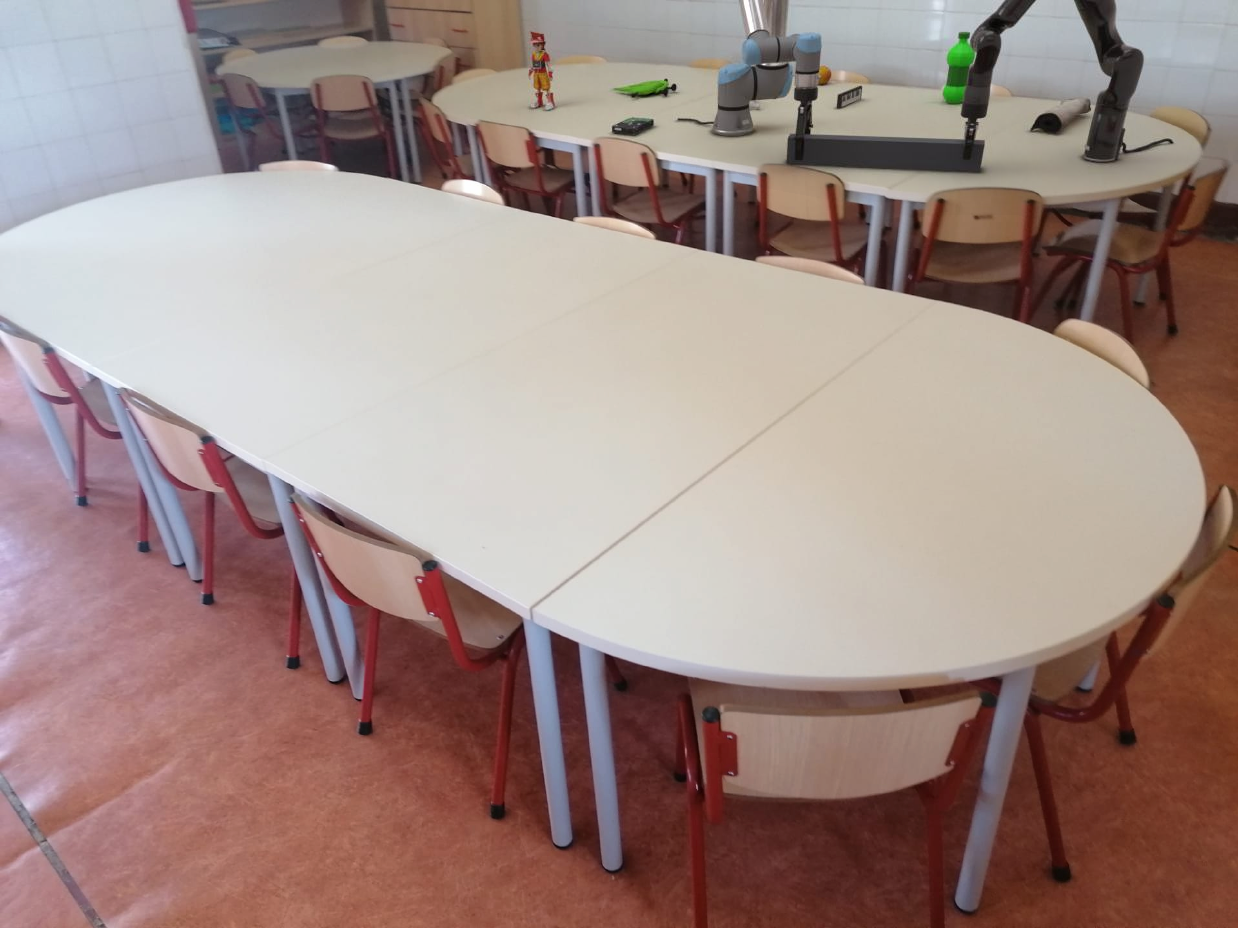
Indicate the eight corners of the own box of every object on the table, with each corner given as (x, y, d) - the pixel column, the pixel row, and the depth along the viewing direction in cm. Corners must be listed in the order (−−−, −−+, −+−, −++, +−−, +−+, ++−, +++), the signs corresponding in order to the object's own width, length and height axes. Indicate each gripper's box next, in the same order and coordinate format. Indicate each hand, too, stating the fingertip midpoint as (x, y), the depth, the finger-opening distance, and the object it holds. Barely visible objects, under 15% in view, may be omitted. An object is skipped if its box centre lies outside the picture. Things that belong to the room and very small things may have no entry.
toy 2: (686, 85, 398) (631, 84, 414) (685, 72, 395) (629, 72, 411) (651, 104, 381) (596, 103, 397) (650, 92, 378) (594, 91, 394)
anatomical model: (727, 81, 368) (751, 74, 367) (732, 106, 373) (755, 100, 373) (734, 89, 355) (759, 82, 354) (738, 116, 361) (763, 109, 360)
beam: (786, 164, 300) (787, 137, 295) (788, 159, 304) (790, 133, 299) (979, 172, 282) (984, 144, 277) (979, 168, 286) (984, 140, 281)
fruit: (806, 77, 389) (817, 59, 386) (809, 80, 396) (820, 63, 393) (821, 87, 387) (833, 70, 384) (824, 90, 395) (835, 74, 392)
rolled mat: (1058, 102, 333) (1083, 85, 325) (1072, 123, 334) (1096, 106, 326) (1026, 124, 316) (1051, 107, 308) (1040, 146, 317) (1066, 129, 308)
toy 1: (525, 109, 381) (517, 32, 364) (534, 104, 388) (527, 28, 371) (550, 110, 377) (543, 32, 360) (559, 105, 384) (553, 28, 367)
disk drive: (634, 136, 338) (654, 126, 348) (634, 128, 336) (654, 118, 346) (611, 133, 343) (631, 123, 353) (611, 126, 341) (631, 116, 351)
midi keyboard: (839, 108, 356) (840, 95, 353) (836, 108, 357) (837, 94, 354) (861, 99, 366) (862, 86, 363) (858, 98, 367) (859, 85, 364)
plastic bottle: (973, 101, 354) (984, 32, 339) (955, 106, 349) (966, 36, 335) (952, 97, 361) (962, 29, 346) (934, 102, 356) (944, 33, 342)
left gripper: (812, 96, 276) (807, 165, 288) (823, 78, 296) (818, 144, 308) (788, 95, 278) (784, 164, 290) (800, 78, 298) (797, 143, 310)
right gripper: (988, 106, 267) (978, 164, 277) (988, 95, 278) (979, 150, 288) (962, 105, 269) (953, 163, 279) (963, 94, 280) (954, 150, 290)
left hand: (802, 154), depth 299 cm, fingers open, 13 cm apart
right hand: (966, 156), depth 283 cm, fingers closed on beam, 5 cm apart
